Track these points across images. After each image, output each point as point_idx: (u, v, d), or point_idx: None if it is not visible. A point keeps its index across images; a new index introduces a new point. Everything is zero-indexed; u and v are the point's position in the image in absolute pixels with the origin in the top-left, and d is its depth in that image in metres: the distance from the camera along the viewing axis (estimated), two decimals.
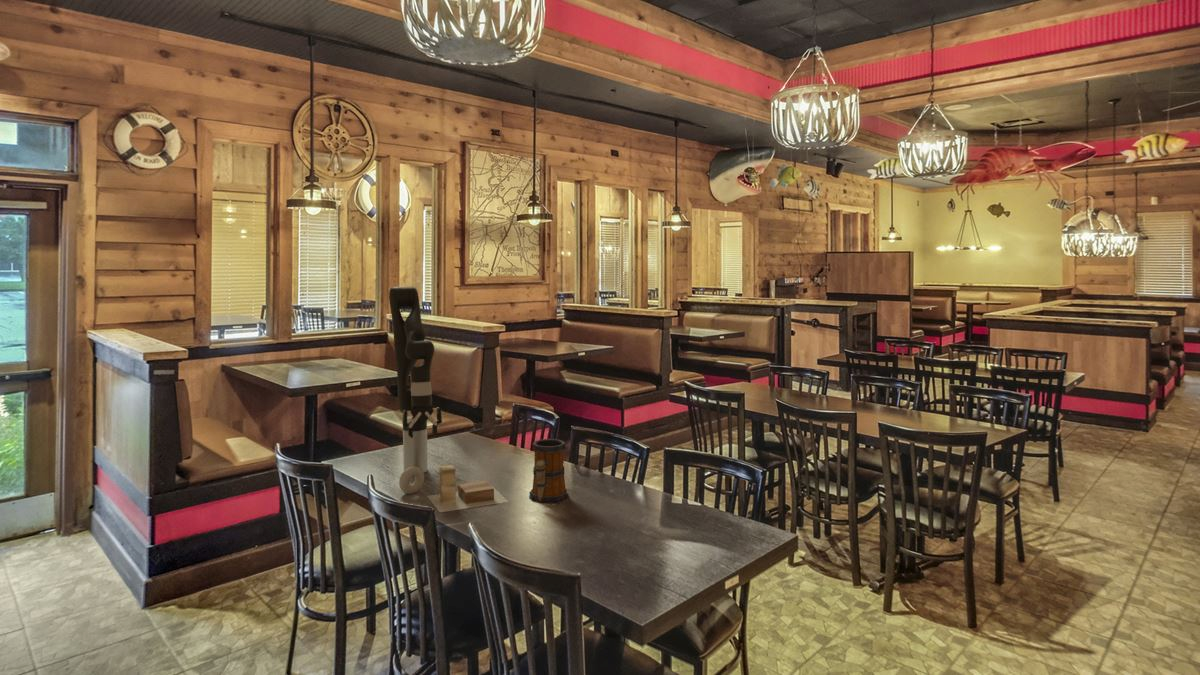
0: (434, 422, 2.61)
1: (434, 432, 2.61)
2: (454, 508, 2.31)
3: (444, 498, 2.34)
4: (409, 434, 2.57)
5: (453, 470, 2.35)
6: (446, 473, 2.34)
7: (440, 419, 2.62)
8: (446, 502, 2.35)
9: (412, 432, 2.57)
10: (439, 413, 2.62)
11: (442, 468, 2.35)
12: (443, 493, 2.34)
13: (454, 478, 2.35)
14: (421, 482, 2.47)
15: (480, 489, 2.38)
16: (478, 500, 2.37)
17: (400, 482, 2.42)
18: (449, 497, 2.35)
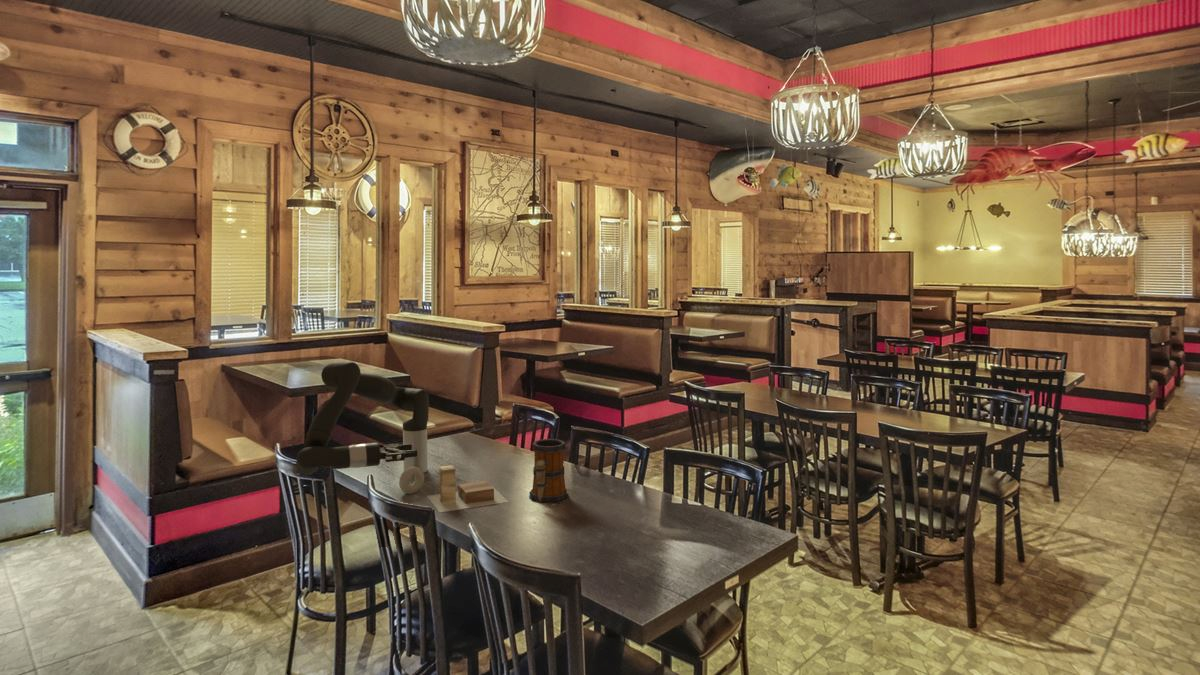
0: None
1: (413, 456, 2.26)
2: (454, 508, 2.31)
3: (444, 498, 2.34)
4: None
5: (453, 470, 2.35)
6: (446, 473, 2.34)
7: None
8: (446, 502, 2.35)
9: (405, 450, 2.33)
10: None
11: (442, 468, 2.35)
12: (443, 493, 2.34)
13: (454, 478, 2.35)
14: (421, 482, 2.47)
15: (480, 489, 2.38)
16: (478, 500, 2.37)
17: (400, 482, 2.42)
18: (449, 497, 2.35)
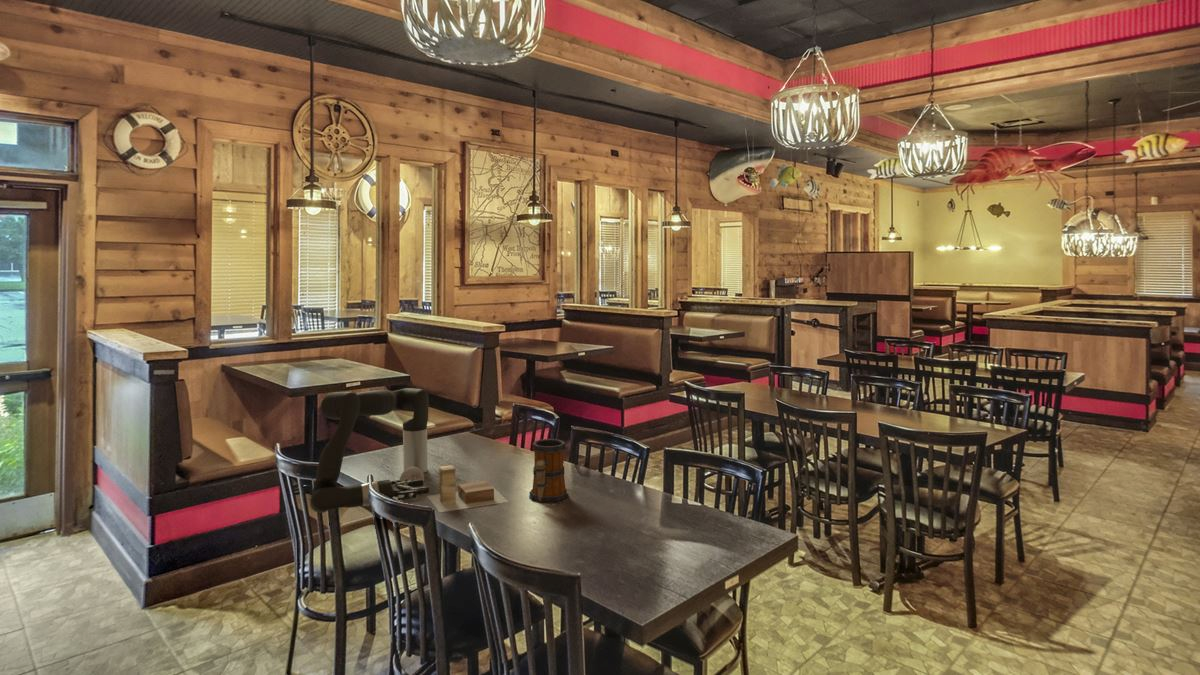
0: None
1: (424, 493, 2.29)
2: (454, 508, 2.31)
3: (444, 498, 2.34)
4: None
5: (453, 470, 2.35)
6: (446, 473, 2.34)
7: None
8: (446, 502, 2.35)
9: (417, 486, 2.36)
10: None
11: (442, 468, 2.35)
12: (443, 493, 2.34)
13: (454, 478, 2.35)
14: None
15: (480, 489, 2.38)
16: (478, 500, 2.37)
17: None
18: (449, 497, 2.35)
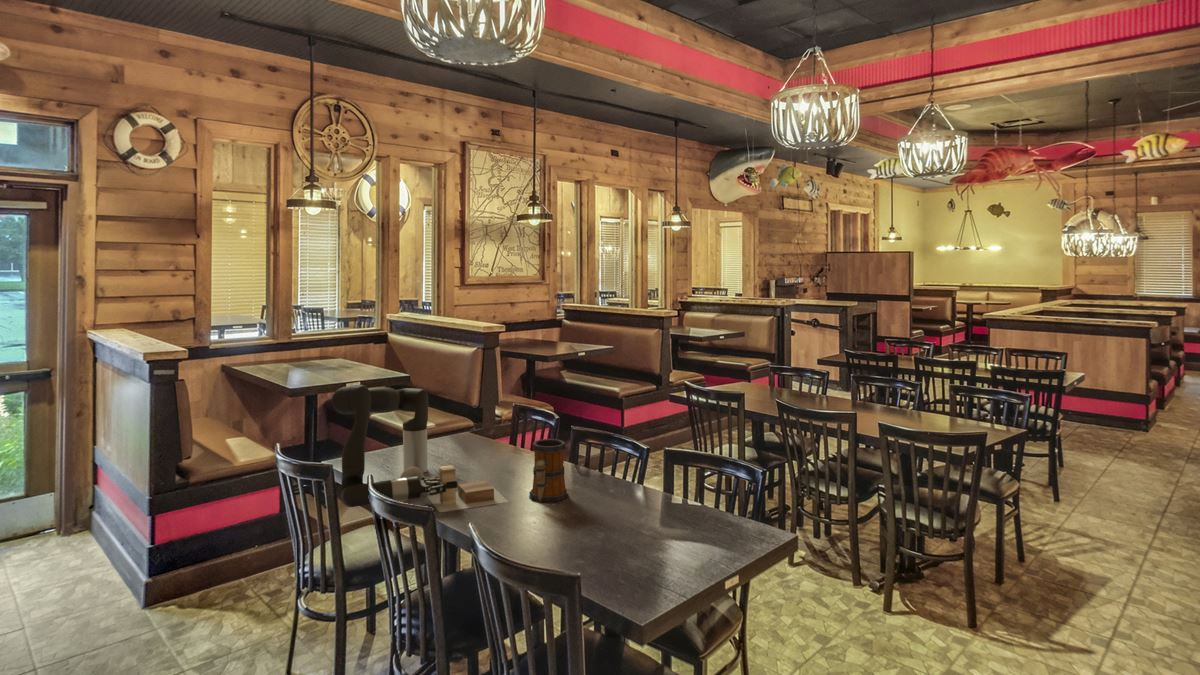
0: None
1: (453, 487, 2.35)
2: (454, 508, 2.31)
3: (444, 498, 2.34)
4: None
5: (453, 470, 2.35)
6: (446, 473, 2.34)
7: None
8: (446, 502, 2.35)
9: None
10: None
11: (442, 468, 2.35)
12: (443, 493, 2.34)
13: (454, 478, 2.35)
14: None
15: (480, 489, 2.38)
16: (478, 500, 2.37)
17: None
18: (449, 497, 2.35)
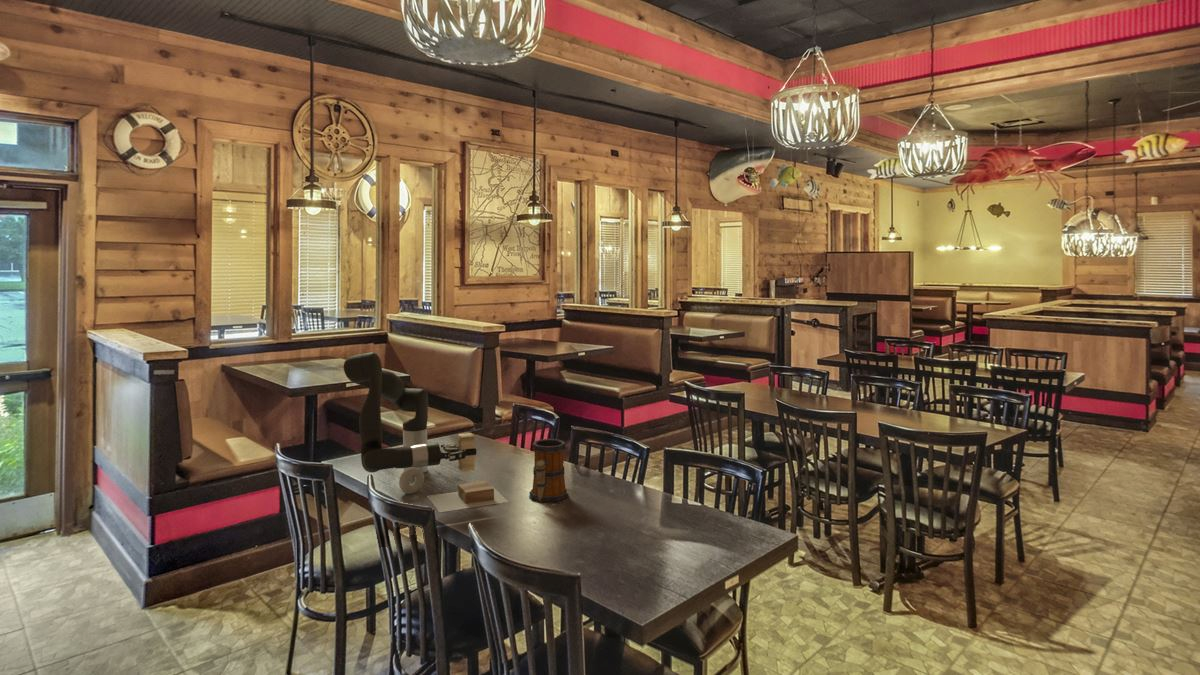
0: None
1: (472, 454, 2.37)
2: (454, 508, 2.31)
3: (463, 465, 2.36)
4: None
5: (472, 437, 2.37)
6: (465, 440, 2.36)
7: None
8: (465, 469, 2.37)
9: None
10: None
11: (461, 435, 2.37)
12: (462, 460, 2.36)
13: (473, 445, 2.37)
14: (421, 482, 2.47)
15: (480, 489, 2.38)
16: (478, 500, 2.37)
17: (400, 482, 2.42)
18: (468, 464, 2.37)
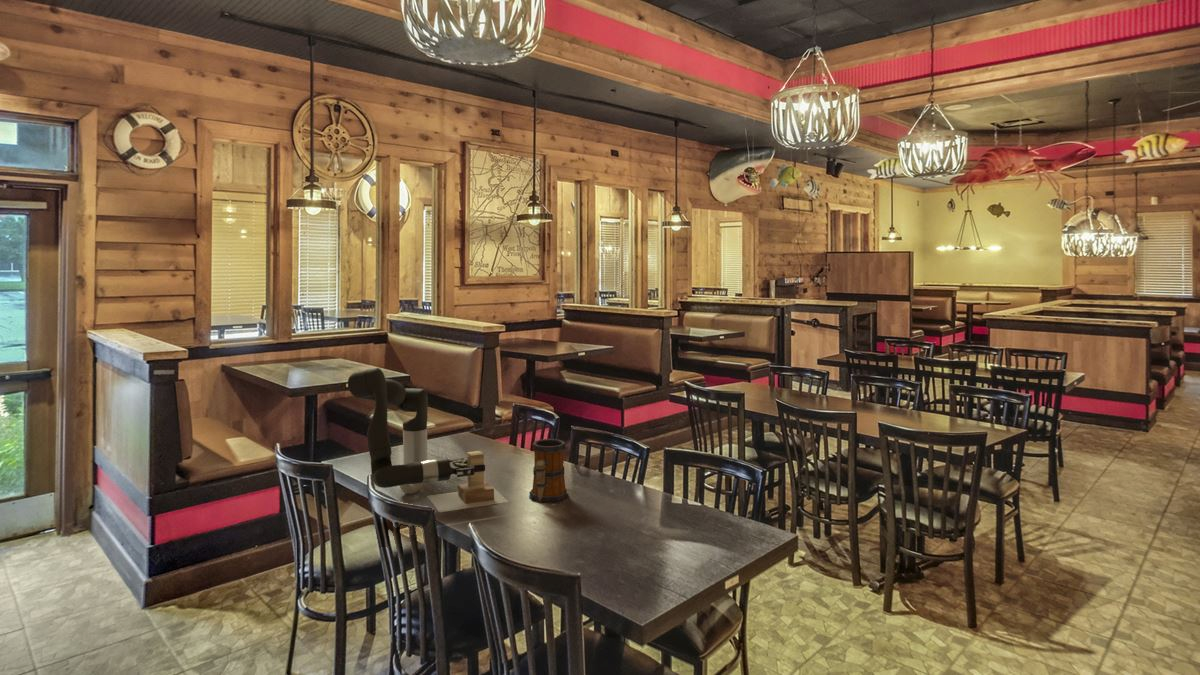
0: None
1: (481, 470, 2.38)
2: (454, 508, 2.31)
3: (472, 483, 2.38)
4: None
5: (481, 455, 2.39)
6: (474, 458, 2.38)
7: None
8: (474, 487, 2.39)
9: None
10: None
11: (470, 453, 2.39)
12: (471, 478, 2.38)
13: (482, 463, 2.39)
14: None
15: (480, 489, 2.38)
16: (478, 500, 2.37)
17: None
18: (477, 482, 2.39)
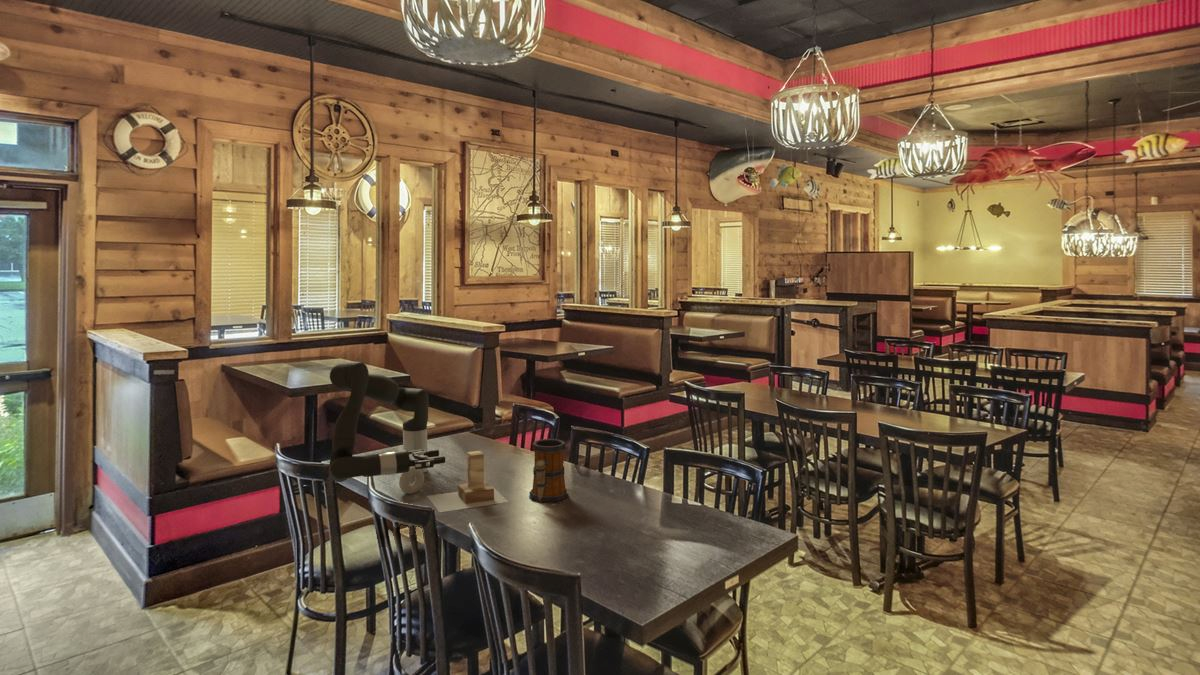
0: None
1: (441, 462, 2.31)
2: (454, 508, 2.31)
3: (472, 483, 2.38)
4: None
5: (481, 455, 2.39)
6: (474, 458, 2.38)
7: None
8: (474, 487, 2.39)
9: (433, 456, 2.38)
10: None
11: (470, 453, 2.39)
12: (471, 478, 2.38)
13: (482, 463, 2.39)
14: (421, 482, 2.47)
15: (480, 489, 2.38)
16: (478, 500, 2.37)
17: (400, 482, 2.42)
18: (477, 482, 2.39)
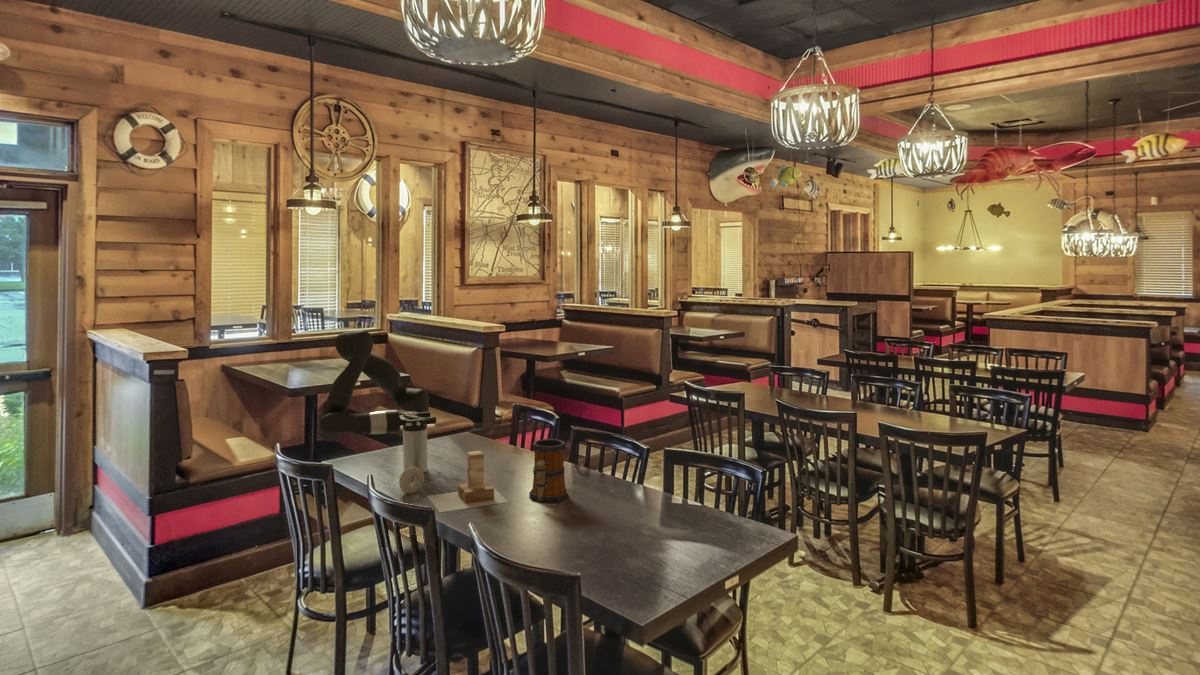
0: None
1: (432, 423, 2.30)
2: (454, 508, 2.31)
3: (472, 483, 2.38)
4: None
5: (481, 455, 2.39)
6: (474, 458, 2.38)
7: None
8: (474, 487, 2.39)
9: (424, 418, 2.37)
10: None
11: (470, 453, 2.39)
12: (471, 478, 2.38)
13: (482, 463, 2.39)
14: (421, 482, 2.47)
15: (480, 489, 2.38)
16: (478, 500, 2.37)
17: (400, 482, 2.42)
18: (477, 482, 2.39)
